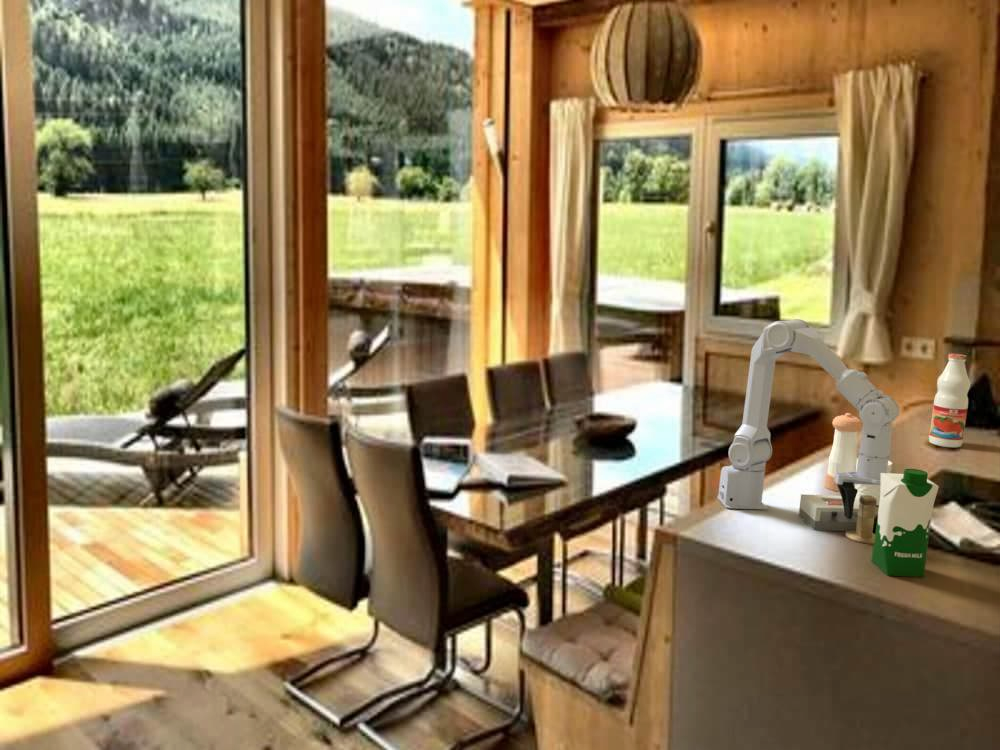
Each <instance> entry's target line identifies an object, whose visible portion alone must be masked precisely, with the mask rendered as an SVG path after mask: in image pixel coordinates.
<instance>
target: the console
mask: <svg viewBox="0 0 1000 750" xmlns="http://www.w3.org/2000/svg"><path fill="white" fill-rule="evenodd" d="M829 501H838V502H841V503H842V504H843V501H842V497H841V495H831V494H830V495H828V494H827V495H826V494H825V495H824V494H800V501H799V509H798V517H799V518H800V519H802V521H804V522H805V523H806V524H807V525H808V526H809V527H810V528H812V530H815V531H836V532H837V531H838V532H839V531H840V532H841V531H842V532H847V531H851V530H856V526H857V518H858V510H859V500H858V499H857V498H855V501H854V507H853V515H852V519H848V518H847V517H846V516H844V506H843V505H828V502H829ZM831 512H837V515H832V514H831Z"/></svg>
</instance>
